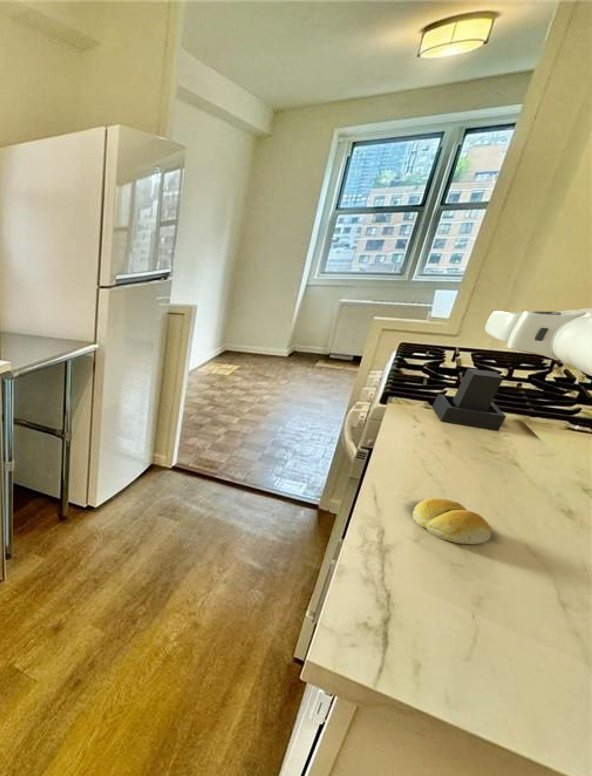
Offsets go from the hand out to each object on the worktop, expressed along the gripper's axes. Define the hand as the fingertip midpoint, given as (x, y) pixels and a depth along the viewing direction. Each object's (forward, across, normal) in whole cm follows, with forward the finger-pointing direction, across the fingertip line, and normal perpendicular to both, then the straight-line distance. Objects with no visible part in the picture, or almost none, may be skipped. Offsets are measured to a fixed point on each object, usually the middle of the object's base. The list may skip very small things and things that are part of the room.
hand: (545, 320), depth 91 cm
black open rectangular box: (+12, 0, +25) cm, 28 cm away
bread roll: (-44, +17, +25) cm, 53 cm away
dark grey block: (+12, 0, +24) cm, 27 cm away
